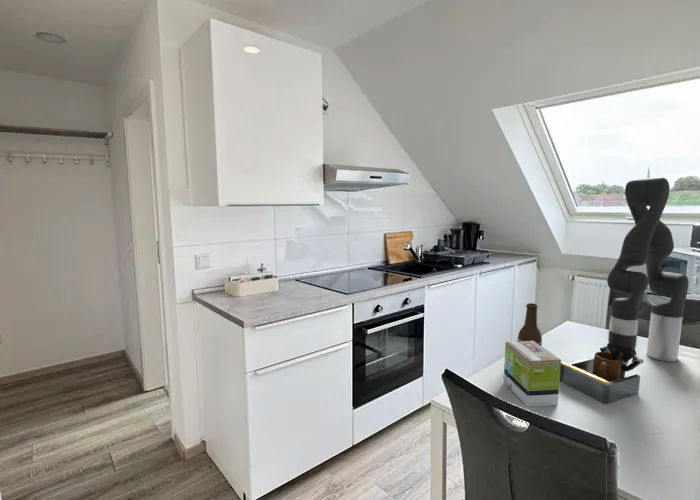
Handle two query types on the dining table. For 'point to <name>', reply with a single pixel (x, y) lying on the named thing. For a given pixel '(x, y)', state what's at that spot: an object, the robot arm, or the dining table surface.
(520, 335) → the beer bottle
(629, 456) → the dining table surface
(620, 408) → the dining table surface
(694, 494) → the dining table surface
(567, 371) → the bracket
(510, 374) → the tea box
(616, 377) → the mug
